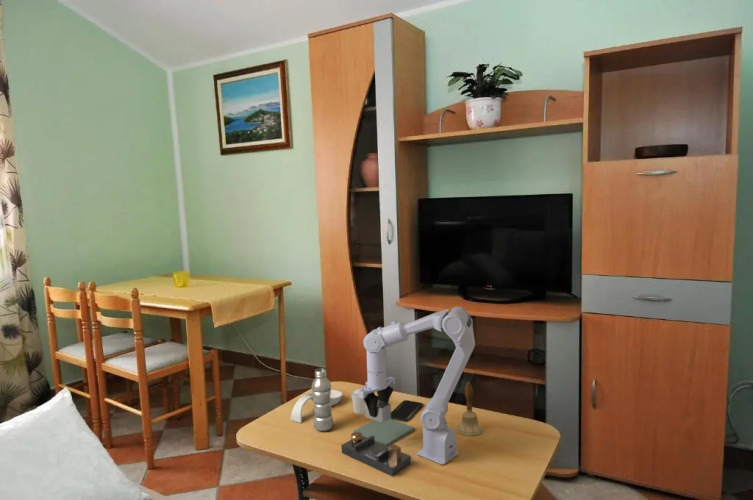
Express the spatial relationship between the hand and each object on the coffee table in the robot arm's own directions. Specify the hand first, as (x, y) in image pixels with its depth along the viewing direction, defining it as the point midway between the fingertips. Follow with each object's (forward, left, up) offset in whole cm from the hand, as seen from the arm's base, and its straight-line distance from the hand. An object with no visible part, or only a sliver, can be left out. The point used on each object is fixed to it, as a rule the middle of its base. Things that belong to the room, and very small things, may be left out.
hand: (378, 413), depth 150 cm
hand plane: (-4, +6, -10) cm, 13 cm away
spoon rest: (+35, -6, -11) cm, 38 cm away
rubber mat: (+5, -8, -10) cm, 14 cm away
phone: (+9, -24, -11) cm, 28 cm away
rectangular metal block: (0, 0, -1) cm, 1 cm away
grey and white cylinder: (+22, -15, -11) cm, 29 cm away
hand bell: (-16, -26, -11) cm, 32 cm away
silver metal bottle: (+22, +3, -11) cm, 25 cm away
